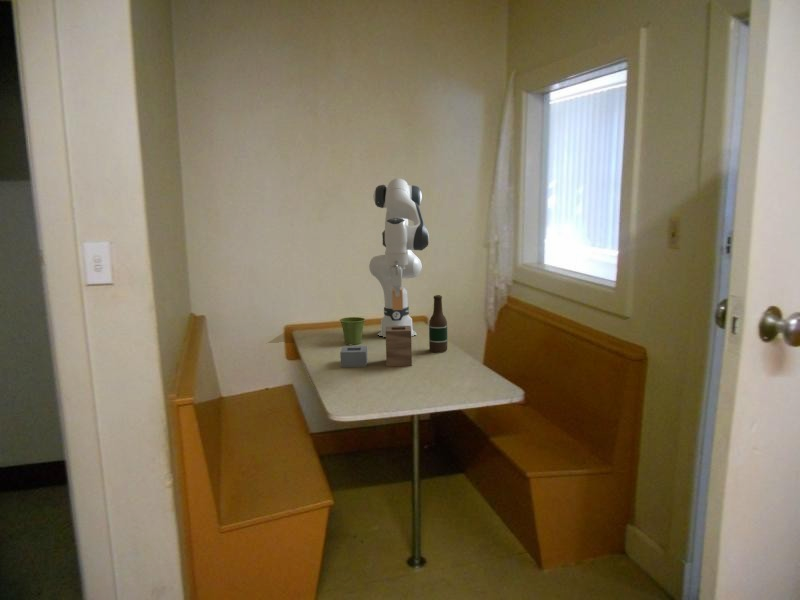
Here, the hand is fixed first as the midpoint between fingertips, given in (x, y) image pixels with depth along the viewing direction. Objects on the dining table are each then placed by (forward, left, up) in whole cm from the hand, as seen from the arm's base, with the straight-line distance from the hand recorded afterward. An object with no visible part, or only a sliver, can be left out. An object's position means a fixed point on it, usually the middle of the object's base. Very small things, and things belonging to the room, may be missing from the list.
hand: (397, 295), depth 236 cm
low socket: (0, -18, -27) cm, 33 cm away
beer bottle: (-18, +17, -28) cm, 37 cm away
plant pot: (-35, -21, -28) cm, 49 cm away
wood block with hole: (0, 0, -27) cm, 27 cm away
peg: (0, 0, -6) cm, 6 cm away
